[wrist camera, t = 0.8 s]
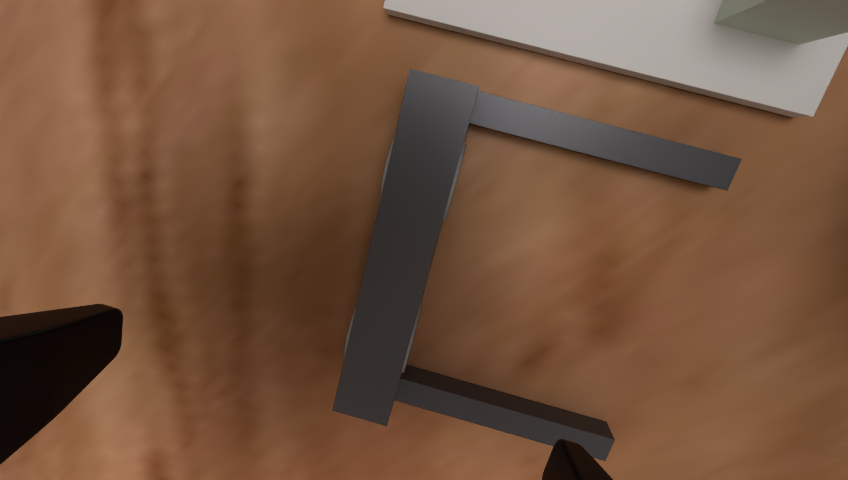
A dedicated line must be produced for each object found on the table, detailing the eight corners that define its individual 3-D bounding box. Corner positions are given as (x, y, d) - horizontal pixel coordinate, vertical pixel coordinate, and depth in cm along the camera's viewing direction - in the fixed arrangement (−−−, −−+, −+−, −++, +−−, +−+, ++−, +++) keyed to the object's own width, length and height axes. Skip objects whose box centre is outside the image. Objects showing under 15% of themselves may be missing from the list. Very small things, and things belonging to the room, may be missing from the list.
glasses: (723, 157, 17) (775, 162, 14) (597, 442, 21) (618, 493, 18) (417, 78, 17) (407, 68, 14) (349, 371, 21) (330, 409, 18)
